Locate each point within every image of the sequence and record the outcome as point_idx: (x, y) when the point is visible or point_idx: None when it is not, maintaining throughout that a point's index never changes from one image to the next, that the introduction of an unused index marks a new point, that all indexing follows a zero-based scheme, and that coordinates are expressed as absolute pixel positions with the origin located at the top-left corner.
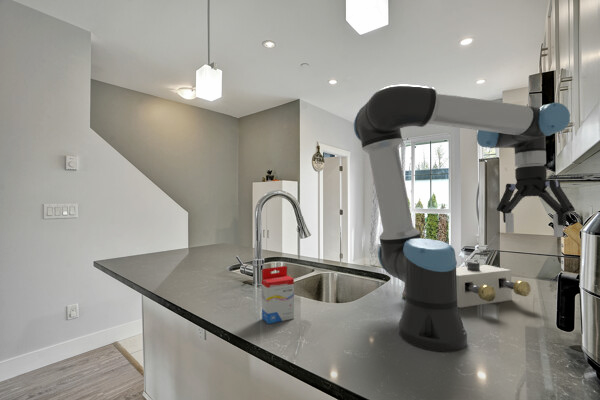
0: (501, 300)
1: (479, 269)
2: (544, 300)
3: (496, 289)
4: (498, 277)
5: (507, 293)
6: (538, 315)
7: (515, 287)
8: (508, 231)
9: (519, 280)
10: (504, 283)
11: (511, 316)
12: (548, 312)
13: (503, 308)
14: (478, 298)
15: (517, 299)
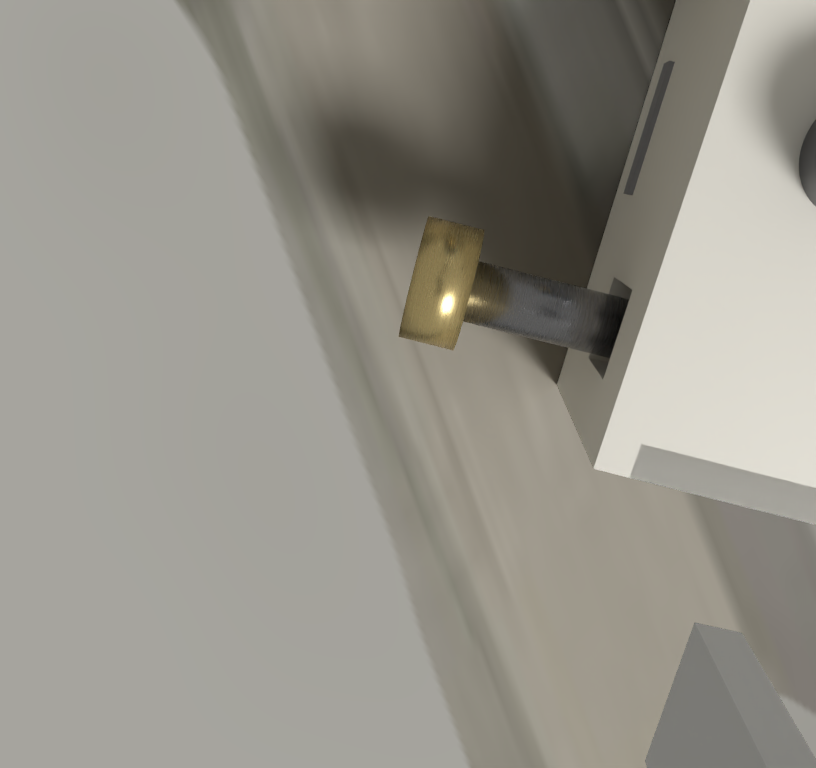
0: (589, 284)
1: (804, 169)
2: (426, 546)
3: (622, 249)
4: (634, 289)
5: (577, 356)
6: (326, 188)
7: (465, 226)
8: (699, 651)
9: (461, 307)
10: (577, 289)
11: (412, 3)
12: (317, 306)
13: (514, 132)
14: (674, 39)
15: (539, 428)
